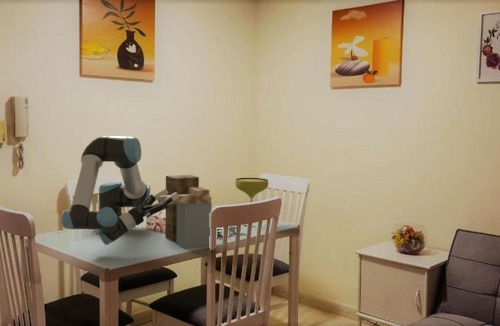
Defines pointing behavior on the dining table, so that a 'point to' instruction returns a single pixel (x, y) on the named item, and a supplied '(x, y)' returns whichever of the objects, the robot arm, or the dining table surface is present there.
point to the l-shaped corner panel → (231, 230)
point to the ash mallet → (190, 196)
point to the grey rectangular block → (193, 224)
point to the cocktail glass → (251, 185)
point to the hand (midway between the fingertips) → (172, 192)
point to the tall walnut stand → (181, 187)
